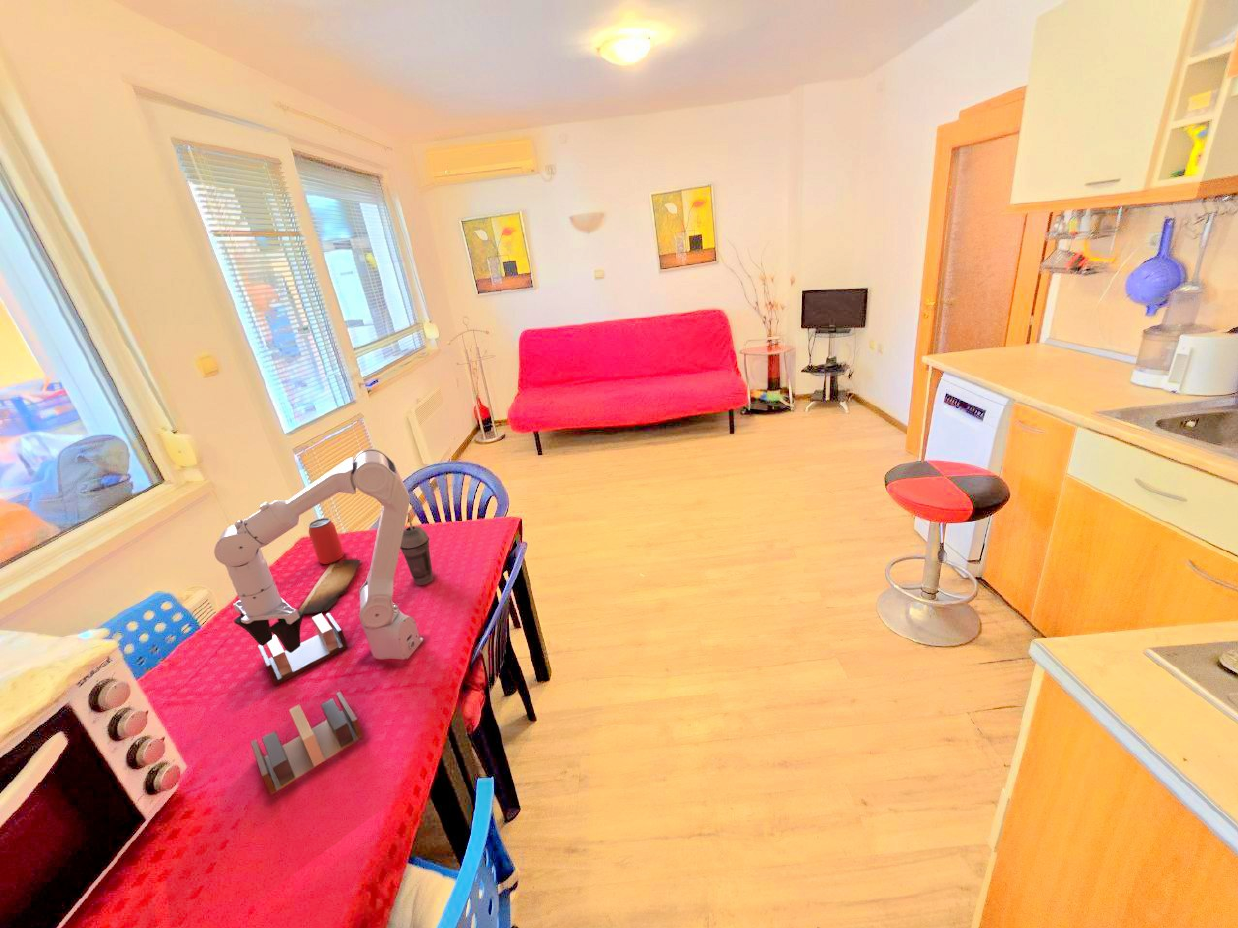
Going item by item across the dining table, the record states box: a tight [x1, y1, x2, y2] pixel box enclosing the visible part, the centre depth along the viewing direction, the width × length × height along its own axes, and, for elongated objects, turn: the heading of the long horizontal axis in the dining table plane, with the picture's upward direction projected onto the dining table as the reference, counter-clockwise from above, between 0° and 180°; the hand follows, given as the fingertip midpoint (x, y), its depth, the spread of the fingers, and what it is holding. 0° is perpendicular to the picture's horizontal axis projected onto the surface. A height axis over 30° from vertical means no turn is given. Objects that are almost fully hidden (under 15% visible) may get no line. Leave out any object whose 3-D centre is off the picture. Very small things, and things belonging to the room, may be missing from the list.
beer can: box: [308, 517, 344, 565], centre depth 145 cm, size 7×7×12 cm
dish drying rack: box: [257, 612, 349, 686], centre depth 107 cm, size 14×9×6 cm, turn 134°
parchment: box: [297, 558, 361, 615], centre depth 133 cm, size 25×10×1 cm, turn 8°
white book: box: [288, 703, 326, 768], centre depth 84 cm, size 2×9×6 cm, turn 45°
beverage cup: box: [400, 512, 434, 586], centre depth 129 cm, size 7×7×20 cm
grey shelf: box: [250, 691, 364, 796], centre depth 85 cm, size 14×9×5 cm, turn 135°
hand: (280, 645), depth 98 cm, fingers open, 7 cm apart
